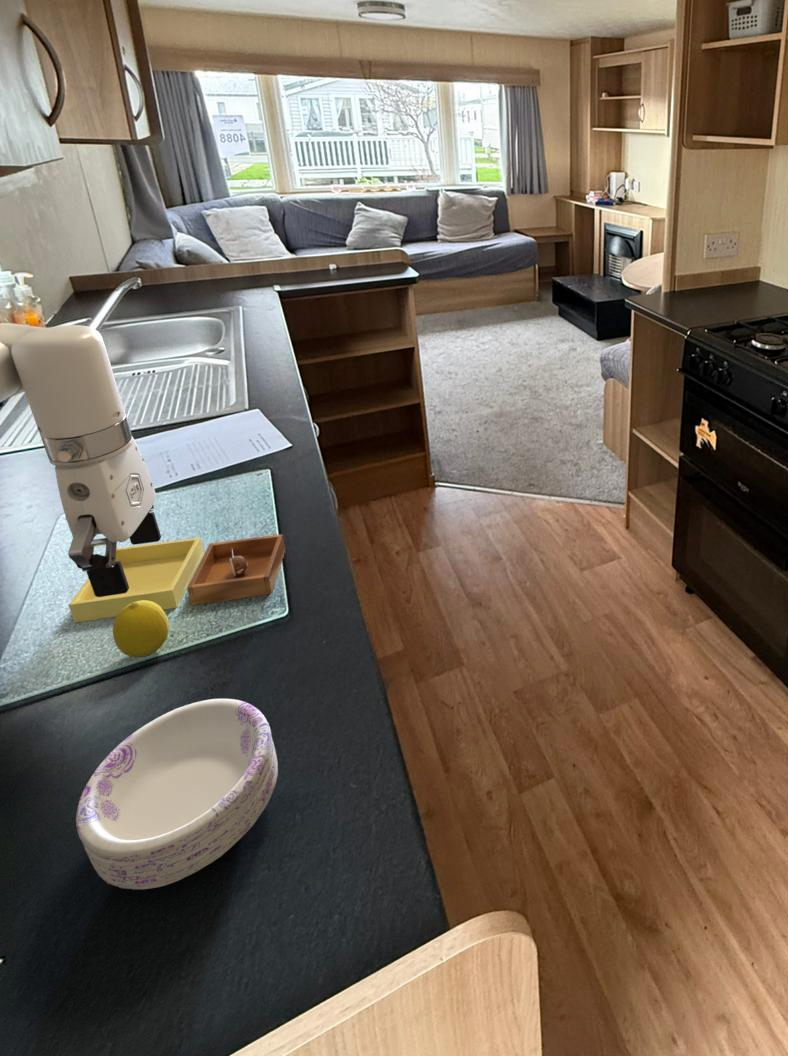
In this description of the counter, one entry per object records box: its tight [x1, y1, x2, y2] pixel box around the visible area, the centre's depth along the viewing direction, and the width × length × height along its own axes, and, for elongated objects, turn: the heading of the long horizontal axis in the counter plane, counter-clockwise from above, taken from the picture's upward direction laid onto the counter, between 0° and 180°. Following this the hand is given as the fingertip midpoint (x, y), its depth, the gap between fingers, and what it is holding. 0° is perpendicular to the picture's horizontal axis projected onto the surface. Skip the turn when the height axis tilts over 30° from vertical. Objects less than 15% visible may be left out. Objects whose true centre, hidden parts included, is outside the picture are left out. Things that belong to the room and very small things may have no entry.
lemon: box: [112, 600, 170, 658], centre depth 80 cm, size 6×6×8 cm
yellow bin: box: [68, 537, 205, 624], centre depth 93 cm, size 12×12×3 cm
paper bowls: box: [75, 698, 279, 891], centre depth 61 cm, size 15×15×8 cm
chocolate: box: [230, 549, 248, 576], centre depth 94 cm, size 3×2×4 cm
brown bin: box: [186, 533, 287, 606], centre depth 95 cm, size 10×10×3 cm
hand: (130, 566), depth 77 cm, fingers open, 9 cm apart
